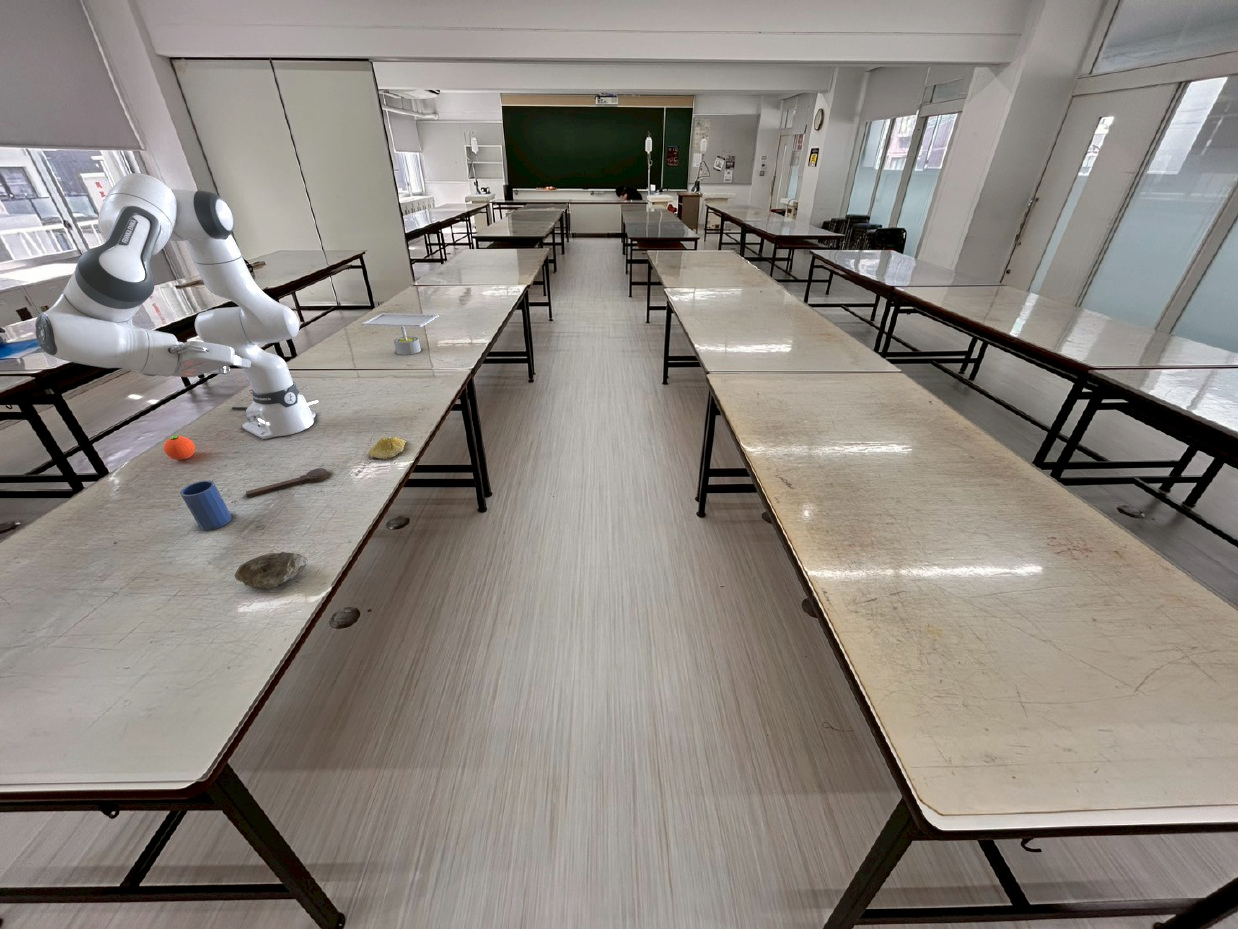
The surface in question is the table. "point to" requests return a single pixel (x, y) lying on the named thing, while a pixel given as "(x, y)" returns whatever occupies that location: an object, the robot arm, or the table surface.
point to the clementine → (179, 447)
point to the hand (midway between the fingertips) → (238, 367)
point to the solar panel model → (402, 320)
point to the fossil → (387, 448)
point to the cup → (206, 505)
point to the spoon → (291, 482)
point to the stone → (271, 569)
